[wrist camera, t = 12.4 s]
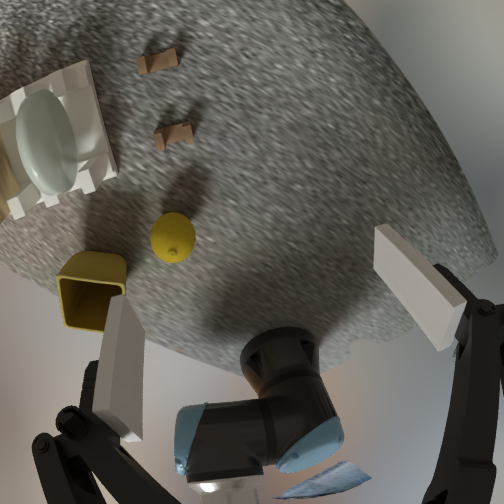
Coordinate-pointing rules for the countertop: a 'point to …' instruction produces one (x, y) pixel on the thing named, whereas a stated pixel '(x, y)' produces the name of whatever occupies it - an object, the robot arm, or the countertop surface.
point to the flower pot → (90, 288)
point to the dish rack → (84, 128)
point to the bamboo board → (6, 181)
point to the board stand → (174, 131)
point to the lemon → (172, 237)
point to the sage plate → (46, 143)
